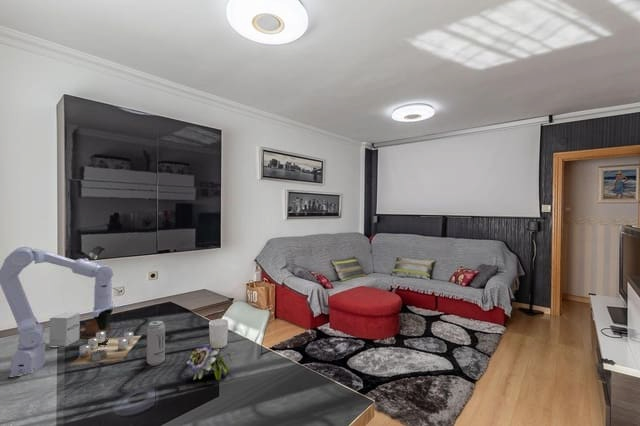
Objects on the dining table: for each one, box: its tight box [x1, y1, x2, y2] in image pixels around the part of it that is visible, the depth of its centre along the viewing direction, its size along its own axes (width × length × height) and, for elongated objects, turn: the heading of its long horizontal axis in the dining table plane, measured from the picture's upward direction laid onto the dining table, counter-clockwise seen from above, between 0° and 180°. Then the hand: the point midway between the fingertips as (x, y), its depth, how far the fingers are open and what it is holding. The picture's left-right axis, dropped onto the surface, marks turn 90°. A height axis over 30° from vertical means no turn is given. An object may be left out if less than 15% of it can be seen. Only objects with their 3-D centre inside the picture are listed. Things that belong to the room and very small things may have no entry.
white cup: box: [208, 318, 229, 349], centre depth 130 cm, size 8×8×10 cm
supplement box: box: [48, 312, 81, 347], centre depth 131 cm, size 7×7×13 cm
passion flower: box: [186, 341, 233, 382], centre depth 107 cm, size 13×12×14 cm
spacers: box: [79, 331, 134, 358], centre depth 127 cm, size 17×15×4 cm
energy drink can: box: [146, 320, 166, 367], centre depth 115 cm, size 6×6×15 cm
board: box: [69, 335, 142, 366], centre depth 125 cm, size 24×17×1 cm
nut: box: [91, 350, 107, 362], centre depth 116 cm, size 5×4×2 cm
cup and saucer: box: [79, 319, 112, 339], centre depth 141 cm, size 12×12×6 cm
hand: (102, 329), depth 123 cm, fingers closed
